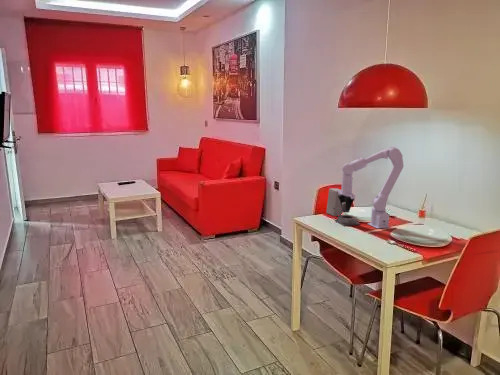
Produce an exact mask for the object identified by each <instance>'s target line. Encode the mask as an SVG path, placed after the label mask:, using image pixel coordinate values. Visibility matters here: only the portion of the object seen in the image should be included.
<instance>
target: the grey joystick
mask: <svg viewBox="0 0 500 375" xmlns="http://www.w3.org/2000/svg"><path fill="white" fill-rule="evenodd" d="M357 219H358V218H357V216H354V215H351V214H350V215H349V214H342V215H339V216H337V218H336V219H334V222H335V221H336V222H335V223H337V222H338V223H337V224H339V225H341V226H343V227H347V226H349V227H350V226H359V225H361V224H360V223H361V222H358V221H357Z"/></svg>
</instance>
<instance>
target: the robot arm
mask: <svg viewBox="0 0 500 375" xmlns="http://www.w3.org/2000/svg"><path fill="white" fill-rule="evenodd" d="M403 156H404V155H403V154H402V152H401V151H400V149H398V148H397V147H395V146H394V147H393V146H391V147H389V148H385V149H382V150H380V151H378V152H375V153H374V154H371V155H369V156H367V157H357V159H355V160H353V161H349V162H348V163H344V164H343V166H342V168H341V169H342V177H341V189H340V190H341V191H338V194H340V196H338V198H339V200H340V203H341V208H342V202H345V203H346V210H349V211H350V210H351V208H352V205H353V202H354V201H355V199H356V195H355V194H354V193H352V192H353V179H354V178H353V173H354V172H358V171H360V170H362V169H364V168H366V167H367V165H368V164H370V163H372V162H375V161H379V160H381V159H385V160H388V159H389V160H390V161H391V164H392V168H391V170H390V172H389V174H388V176H387V178H386V180H385V181H384V182H383V185H382V186H381V190H380V191H379V193H378V194H377V196H375V197H374V198H373V200H372V205H373V207H372V208H371V214H370V215H371V217H370V218H371V219H370V222H368V223H367V225H369V226H371V227H373V228H375V229H389V228H390V226H389V224H390V222H389V220H390V215H389V213H387V212H386V211H387V210H386V207H387V202H388V200H389V195H390V194H391V192H392V189H394V186H395V184H396V182H397V180H398V179H399V177H400V174H401V172H402V171H403V169H404V159H403Z"/></svg>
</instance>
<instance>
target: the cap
mask: <svg viewBox="0 0 500 375" xmlns="http://www.w3.org/2000/svg"><path fill="white" fill-rule="evenodd" d="M341 212H342V213H350V210H346V203H345V202H342V209H341Z"/></svg>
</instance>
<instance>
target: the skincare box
mask: <svg viewBox="0 0 500 375" xmlns="http://www.w3.org/2000/svg"><path fill="white" fill-rule="evenodd" d="M338 191H341V189H340V188H336V187H335V188H334V187H333V188H332V187H331V188H329V189H328V195H327V196H328V197H327V203H326V214H328V215H329V216H333V217H338V215H341V214H342V215H343V212H341V209H342V208H341V203H340V200H339V198H338V196H340V194H338Z"/></svg>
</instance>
